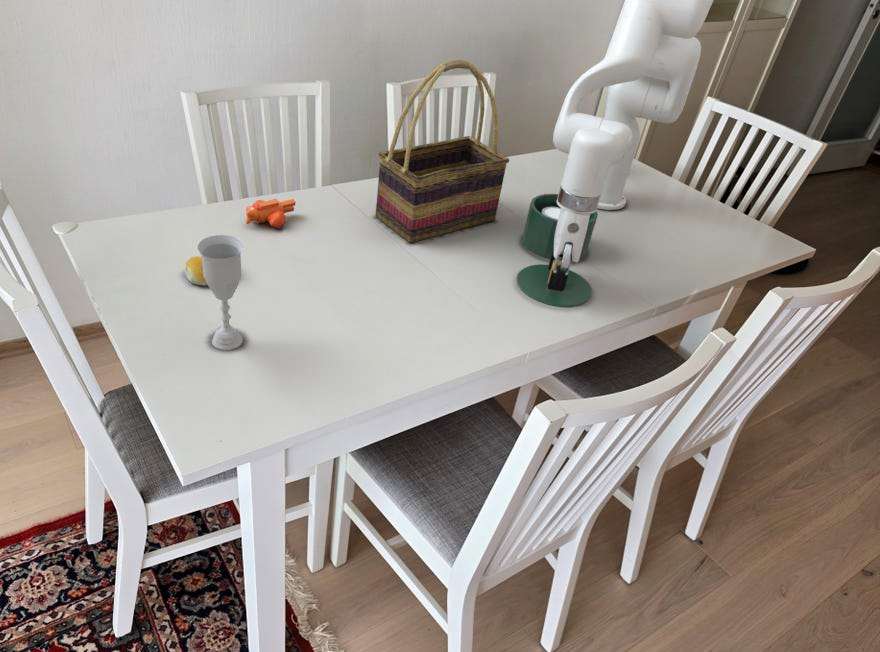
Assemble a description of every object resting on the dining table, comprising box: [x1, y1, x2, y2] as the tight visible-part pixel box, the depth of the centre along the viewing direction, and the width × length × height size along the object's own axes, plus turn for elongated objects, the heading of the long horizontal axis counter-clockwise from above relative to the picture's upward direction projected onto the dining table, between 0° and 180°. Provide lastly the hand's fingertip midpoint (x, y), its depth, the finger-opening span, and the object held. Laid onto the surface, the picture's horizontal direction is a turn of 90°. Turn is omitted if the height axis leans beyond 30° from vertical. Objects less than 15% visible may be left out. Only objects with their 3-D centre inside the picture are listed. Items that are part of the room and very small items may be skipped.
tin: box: [521, 193, 599, 262], centre depth 150 cm, size 14×14×10 cm
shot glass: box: [541, 207, 561, 220], centre depth 151 cm, size 7×7×7 cm
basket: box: [375, 59, 510, 244], centre depth 147 cm, size 26×15×35 cm, turn 126°
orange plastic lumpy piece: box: [245, 198, 297, 229], centre depth 147 cm, size 5×8×12 cm
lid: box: [516, 259, 593, 308], centre depth 137 cm, size 15×15×6 cm
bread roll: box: [183, 255, 208, 286], centre depth 129 cm, size 8×9×4 cm
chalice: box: [197, 234, 244, 351], centre depth 109 cm, size 7×7×18 cm
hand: (555, 279), depth 137 cm, fingers open, 7 cm apart
